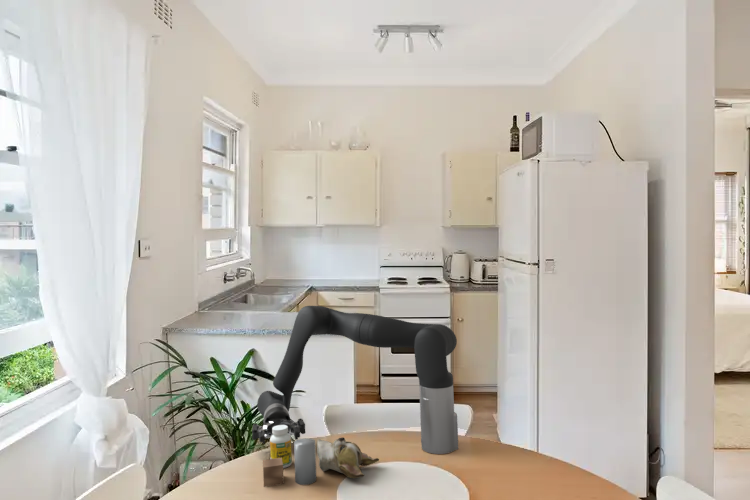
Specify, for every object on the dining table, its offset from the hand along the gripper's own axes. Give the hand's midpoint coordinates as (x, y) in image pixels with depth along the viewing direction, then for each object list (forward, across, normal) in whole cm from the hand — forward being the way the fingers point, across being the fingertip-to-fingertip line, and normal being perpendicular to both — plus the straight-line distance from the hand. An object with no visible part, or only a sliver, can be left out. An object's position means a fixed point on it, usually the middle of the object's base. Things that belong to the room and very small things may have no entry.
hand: (280, 437), depth 130 cm
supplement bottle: (+3, 0, +6) cm, 7 cm away
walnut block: (+12, -3, +6) cm, 14 cm away
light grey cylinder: (+14, +5, +6) cm, 16 cm away
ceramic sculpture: (+12, +15, +6) cm, 20 cm away
